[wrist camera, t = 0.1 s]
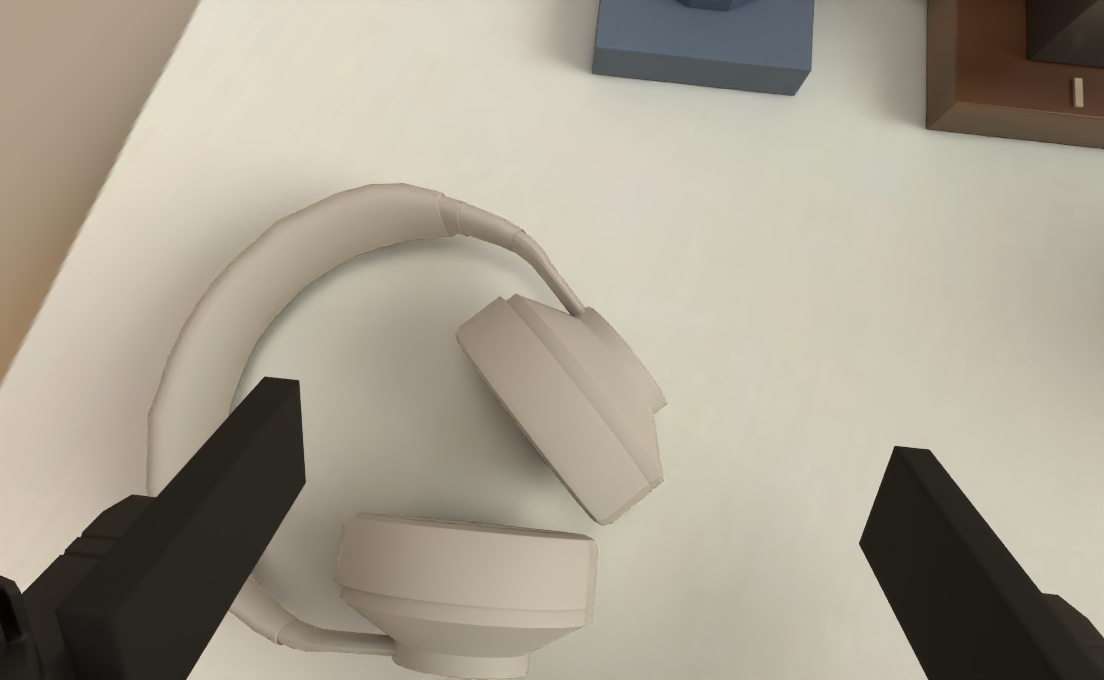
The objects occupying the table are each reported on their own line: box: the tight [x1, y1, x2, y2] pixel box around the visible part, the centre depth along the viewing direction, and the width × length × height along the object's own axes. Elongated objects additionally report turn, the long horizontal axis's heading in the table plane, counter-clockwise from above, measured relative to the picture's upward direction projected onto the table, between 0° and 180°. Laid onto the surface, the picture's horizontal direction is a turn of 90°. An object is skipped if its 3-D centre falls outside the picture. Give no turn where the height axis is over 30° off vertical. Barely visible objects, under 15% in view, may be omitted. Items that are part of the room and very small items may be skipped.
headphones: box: [146, 183, 667, 679], centre depth 28 cm, size 18×8×20 cm
